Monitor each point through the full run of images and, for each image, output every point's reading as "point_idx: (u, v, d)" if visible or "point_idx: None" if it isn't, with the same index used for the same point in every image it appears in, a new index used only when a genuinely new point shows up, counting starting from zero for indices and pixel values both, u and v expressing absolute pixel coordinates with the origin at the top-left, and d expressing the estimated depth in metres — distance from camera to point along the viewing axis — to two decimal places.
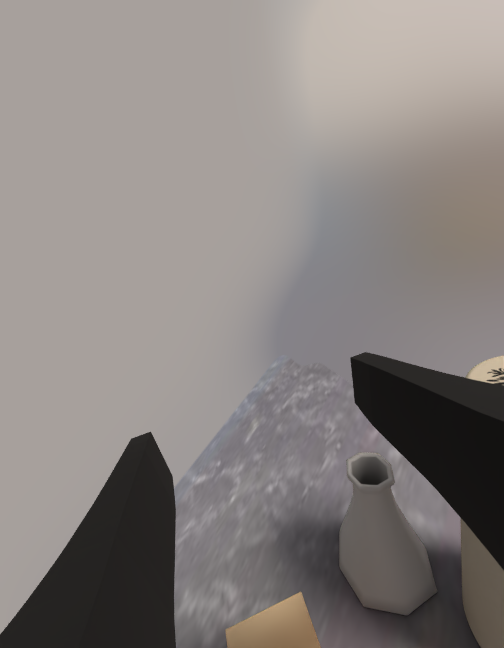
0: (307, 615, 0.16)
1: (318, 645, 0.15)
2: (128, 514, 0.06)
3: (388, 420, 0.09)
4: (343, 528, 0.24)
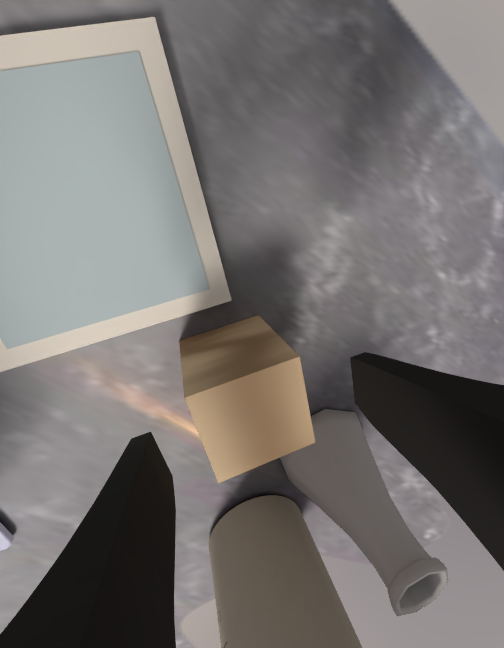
0: (293, 450, 0.14)
1: (267, 461, 0.13)
2: (128, 514, 0.06)
3: (388, 420, 0.09)
4: (357, 435, 0.20)
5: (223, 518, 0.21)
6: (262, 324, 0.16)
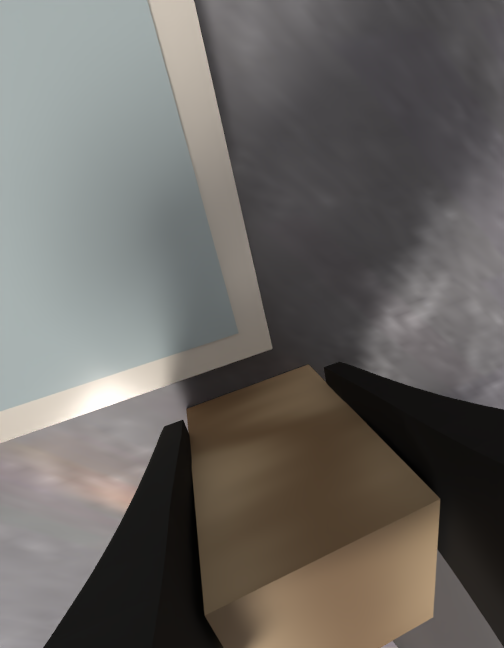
0: (396, 636, 0.07)
1: None
2: (175, 494, 0.06)
3: None
4: None
5: None
6: (322, 387, 0.10)
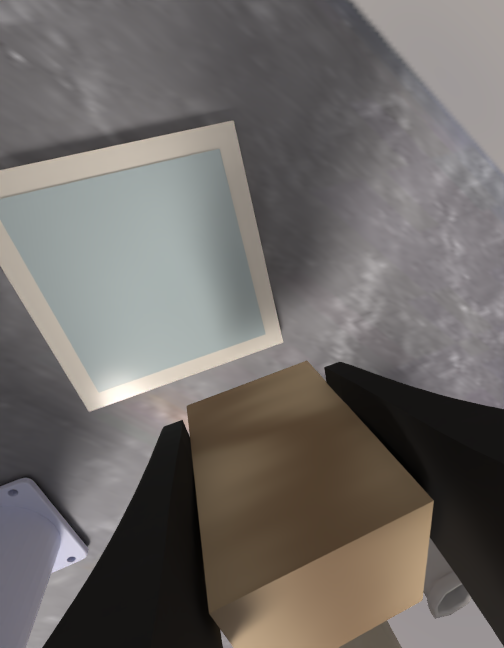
0: (387, 618, 0.08)
1: (346, 642, 0.08)
2: (174, 495, 0.06)
3: None
4: None
5: None
6: (321, 385, 0.10)
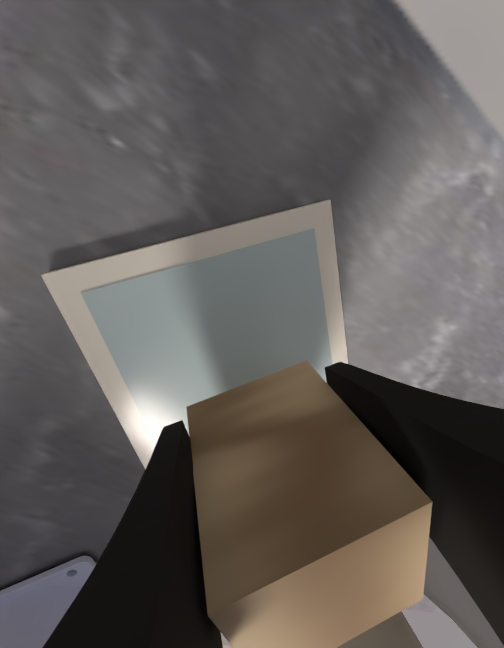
0: (387, 617, 0.08)
1: (346, 641, 0.08)
2: (174, 495, 0.06)
3: None
4: None
5: None
6: (320, 385, 0.10)
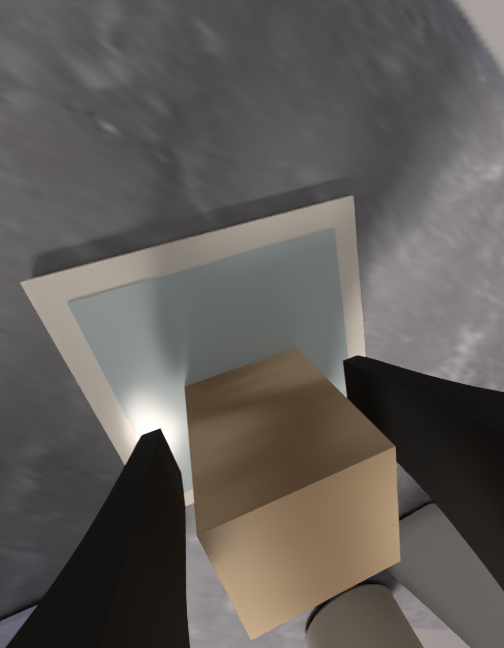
0: (367, 576, 0.09)
1: (328, 598, 0.08)
2: (143, 508, 0.06)
3: (380, 424, 0.09)
4: None
5: (324, 611, 0.21)
6: (306, 365, 0.11)
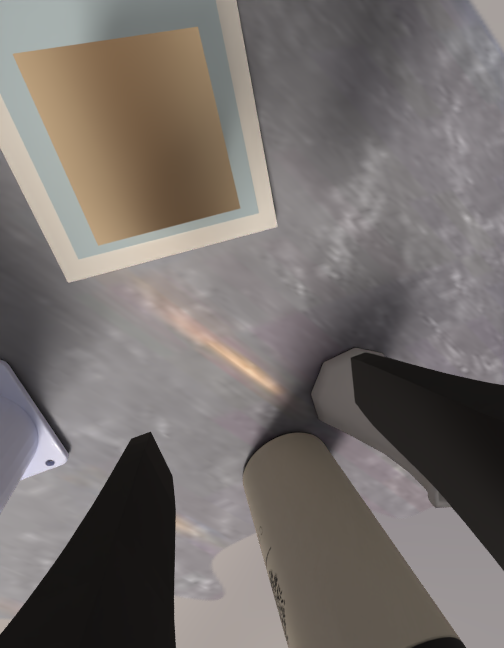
0: (208, 213, 0.10)
1: (170, 224, 0.10)
2: (128, 514, 0.06)
3: (388, 420, 0.09)
4: None
5: (257, 452, 0.23)
6: None
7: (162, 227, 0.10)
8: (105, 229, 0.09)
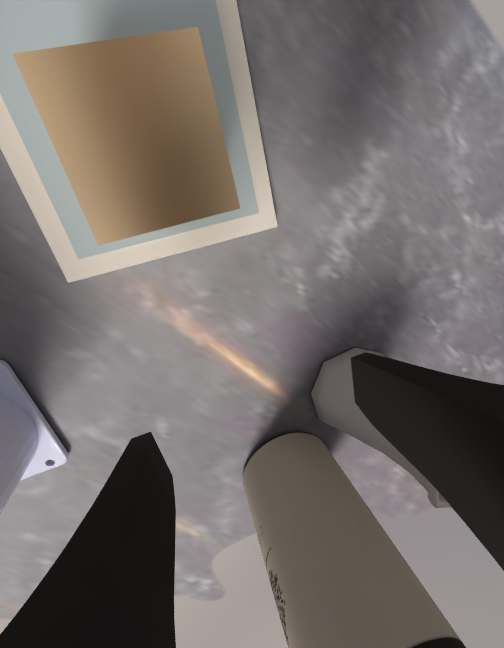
0: (208, 213, 0.10)
1: (170, 224, 0.10)
2: (128, 514, 0.06)
3: (388, 420, 0.09)
4: None
5: (257, 452, 0.23)
6: None
7: (162, 227, 0.10)
8: (105, 229, 0.09)
